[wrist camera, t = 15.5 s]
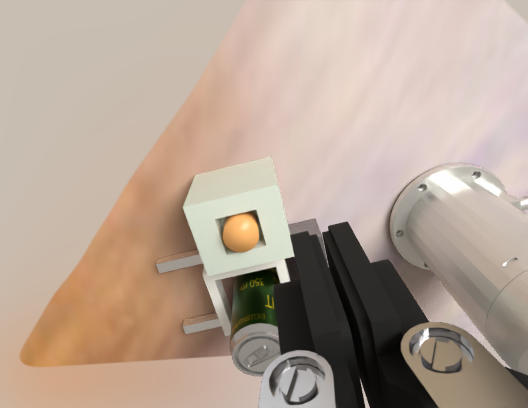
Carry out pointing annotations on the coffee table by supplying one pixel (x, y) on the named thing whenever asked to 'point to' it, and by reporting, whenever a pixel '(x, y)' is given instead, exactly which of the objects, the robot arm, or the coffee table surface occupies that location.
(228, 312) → the frame
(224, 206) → the pale green hollow cube
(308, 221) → the rail track
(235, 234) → the button
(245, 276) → the beer can
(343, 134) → the coffee table surface
